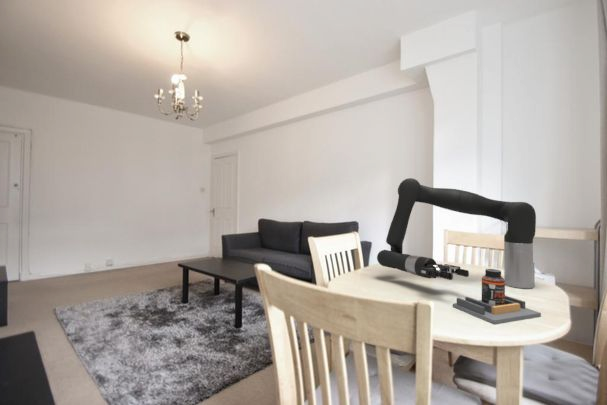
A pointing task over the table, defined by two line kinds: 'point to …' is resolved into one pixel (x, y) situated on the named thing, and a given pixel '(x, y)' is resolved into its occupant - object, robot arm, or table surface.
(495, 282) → the supplement bottle
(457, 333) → the table surface
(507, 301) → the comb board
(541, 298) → the table surface
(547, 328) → the table surface
